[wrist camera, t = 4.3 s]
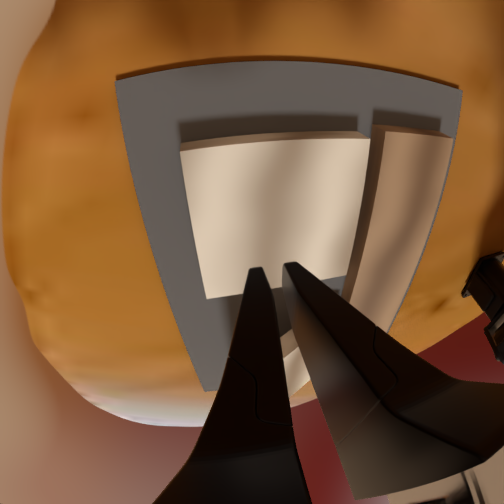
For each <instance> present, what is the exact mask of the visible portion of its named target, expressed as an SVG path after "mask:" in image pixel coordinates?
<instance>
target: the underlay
mask: <svg viewBox="0 0 504 504" xmlns="http://www.w3.org/2000/svg"><path fill="white" fill-rule="evenodd" d="M115 87H116V94H117V101H118V107H119V113H120V119H121V124H122V130H123V135H124V140H125V145H126V150H127V155H128V160H129V164H130V169H131V173H132V177H133V182H134V186H135V190H136V194H137V198H138V202H139V206H140V209H141V213H142V217H143V221H144V224H145V228H146V231H147V235H148V238H149V242H150V245H151V248H152V252H153V255H154V258H155V261H156V265H157V268H158V271H159V274H160V277H161V280H162V283H163V286H164V289H165V292H166V295H167V298H168V301H169V304H170V306H171V309H172V312H173V315H174V317H175V320H176V323H177V325H178V328H179V331H180V333H181V336H182V339H183V341H184V344H185V346H186V349H187V351H188V354H189V356H190V359H191V361H192V363H193V366H194V368H195V371H196V373H197V375H198V378H199V380H200V382H201V385H202V387H203V389H204V391H205V392H207V391H216V390H218V389H219V386H220V383H221V379H222V376H223V372H224V369H225V365H226V361H227V358H228V353H229V349H230V345H231V341H232V337H233V332H234V328H235V324H236V320H237V316H238V312H239V308H240V303H241V299H242V295H243V294H237V295H230V296H224V297H217V298H211V299H207V298H206V294H205V289H204V284H203V280H202V275H201V270H200V265H199V260H198V255H197V250H196V245H195V239H194V234H193V229H192V223H191V218H190V212H189V206H188V200H187V194H186V188H185V182H184V176H183V169H182V163H181V156H180V147H181V143H184V142H191V141H198V140H205V139H213V138H222V137H231V136H241V135H252V134H265V133H281V132H306V131H357V132H359V133H361V134H363V135H364V136H366V137H368V138H370V139H371V130H372V124H375V125H389V126H400V127H410V128H418V129H426V130H434V131H440V132H442V133H444V134H446V135H448V136H449V137H451V138H453V144H452V149H451V154H450V159H449V163H448V167H447V172H446V176H445V180H444V183H443V187H442V191H441V195H440V198H439V202H438V205H437V208H436V212H435V215H434V218H433V221H432V224H431V227H430V230H429V233H428V236H427V239H426V242H425V245H424V248H423V250H422V253H421V256H420V258H419V261H418V263H417V266H416V269H415V271H414V274H413V276H412V278H411V281H410V283H409V286H408V288H407V290H406V292H405V295H404V297H403V299H402V301H401V304H400V306H399V308H398V310H397V312H396V314H395V316H394V318H393V321H392V323H391V325H390V327H389V329H388V331H387V333H388V332H389V330H390V328H391V326H392V324H393V322H394V320H395V318H396V315H397V313H398V311H399V309H400V307H401V305H402V303H403V301H404V298H405V296H406V294H407V292H408V289H409V287H410V285H411V282H412V280H413V278H414V275H415V273H416V270H417V268H418V265H419V263H420V260H421V258H422V255H423V252H424V250H425V247H426V244H427V242H428V239H429V236H430V233H431V230H432V227H433V224H434V221H435V218H436V215H437V211H438V208H439V205H440V201H441V198H442V194H443V191H444V187H445V183H446V180H447V176H448V172H449V167H450V163H451V159H452V154H453V149H454V144H455V139H456V134H457V128H458V122H459V116H460V109H461V101H462V92H463V91H462V90H459V89H456V88H453V87H450V86H446V85H443V84H439V83H436V82H432V81H429V80H425V79H421V78H417V77H412V76H408V75H403V74H399V73H394V72H389V71H383V70H377V69H371V68H365V67H358V66H350V65H341V64H331V63H318V62H300V61H248V62H230V63H217V64H207V65H198V66H190V67H183V68H176V69H170V70H164V71H159V72H153V73H148V74H143V75H139V76H134V77H130V78H126V79H122V80H118V81H115ZM369 148H370V147H369ZM368 156H369V155H368ZM364 184H365V183H364ZM360 208H361V207H360ZM358 219H359V218H358ZM350 258H351V257H350ZM345 279H346V275H344V276H339V277H334V278H328V279H323V280H321V281H322V282H324V283H325V284H326V285H327V286H329V287H330V288H331V289H332V290H334V291H335V292H336V293H337V294H339V295H340V296H341V295H342V291H343V287H344V283H345ZM272 292H273V295H274V300H275V306H276V313H277V320H278V326H279V333H280V337H282V336H283V335H284V334H286V333H287V332H288V331H290V330H291V329H292V326H291V322H290V318H289V314H288V310H287V306H286V302H285V298H284V293H283V289H282V287H279V288H273V289H272Z"/></svg>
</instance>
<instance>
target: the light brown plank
mask: <svg viewBox="0 0 504 504" xmlns="http://www.w3.org/2000/svg"><path fill="white" fill-rule="evenodd" d="M452 144H453V138H451V137H449V136H448V135H446V134H444V133H442V132H440V131H434V130H426V129H418V128H410V127H400V126H389V125H375V124H372V130H371V139H370V148H369V156H368V163H367V170H366V177H365V184H364V190H363V196H362V202H361V208H360V213H359V219H358V224H357V229H356V234H355V239H354V244H353V248H352V253H351V258H350V262H349V266H348V271H347V275H346V279H345V283H344V287H343V291H342V295H341V297H342V298H344V299H345V300H346V301H347V302H349V303H350V304H351V305H352V306H354V307H355V308H356V309H357V310H359V311H360V312H361V313H362V314H364V315H365V316H366V317H367V318H369V319H370V320H371V321H372V322H374V323H375V324H376V326H379V327H380V328H381V329H382V330H384V331H385V332H386V333H387V331H388V329H389V327H390V325H391V323H392V321H393V318H394V316H395V314H396V312H397V310H398V308H399V306H400V304H401V301H402V299H403V297H404V295H405V292H406V290H407V288H408V286H409V283H410V281H411V278H412V276H413V274H414V271H415V269H416V266H417V263H418V261H419V258H420V256H421V253H422V250H423V248H424V245H425V242H426V239H427V236H428V233H429V230H430V227H431V224H432V221H433V218H434V215H435V212H436V208H437V205H438V202H439V198H440V195H441V191H442V187H443V183H444V180H445V176H446V172H447V167H448V163H449V159H450V154H451V149H452Z"/></svg>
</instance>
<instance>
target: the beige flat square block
mask: <svg viewBox="0 0 504 504" xmlns="http://www.w3.org/2000/svg"><path fill="white" fill-rule="evenodd" d="M280 339H281V346H282V353H283V360H284V367H285V374H286V381H287V388H288V395H289V397H290V396H292V395H293V394H294V393H295V392H296V391H298V390H299V389H300V388H301V387H302V386H303V385H305V384H306V383H307V382H308V381H309V380H310V376H309V373H308V371H307V368H306V365H305V363H304V360H303V358H302V355H301V352H300V350H299V347H298V344H297V342H296V339H295V336H294V333H293V330H292V329H291V330H290V331H288V332H287V333H286V334H284V335H283V336H282V337H280Z"/></svg>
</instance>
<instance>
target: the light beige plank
mask: <svg viewBox="0 0 504 504" xmlns="http://www.w3.org/2000/svg"><path fill="white" fill-rule="evenodd" d="M369 147H370V138H368V137H366V136H364V135H363V134H361V133H359V132H357V131H306V132H281V133H265V134H252V135H241V136H231V137H222V138H213V139H205V140H198V141H191V142H184V143H181V147H180V156H181V163H182V169H183V176H184V182H185V188H186V194H187V200H188V206H189V212H190V218H191V223H192V229H193V234H194V239H195V245H196V250H197V255H198V260H199V265H200V270H201V275H202V280H203V284H204V289H205V294H206V298H207V299H211V298H217V297H224V296H230V295H237V294H243V291H244V287H245V283H246V278H247V274H248V270H249V268H252V267H259V266H261V267H263V269H264V271H265V274H266V276H267V279H268V282H269V284H270V287H271V289H273V288H279V287H282V266H283V264H284V263H286V262H293V261H296V262H298V263H299V264H301V265H302V266H303V267H304V268H306V269H307V270H308V271H310V272H311V273H312V274H313V275H315V276H316V277H317V278H318V279H320V280H323V279H328V278H334V277H339V276H344V275H347V271H348V266H349V262H350V257H351V253H352V248H353V244H354V239H355V234H356V229H357V224H358V218H359V213H360V207H361V202H362V196H363V190H364V183H365V177H366V170H367V163H368V155H369Z"/></svg>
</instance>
